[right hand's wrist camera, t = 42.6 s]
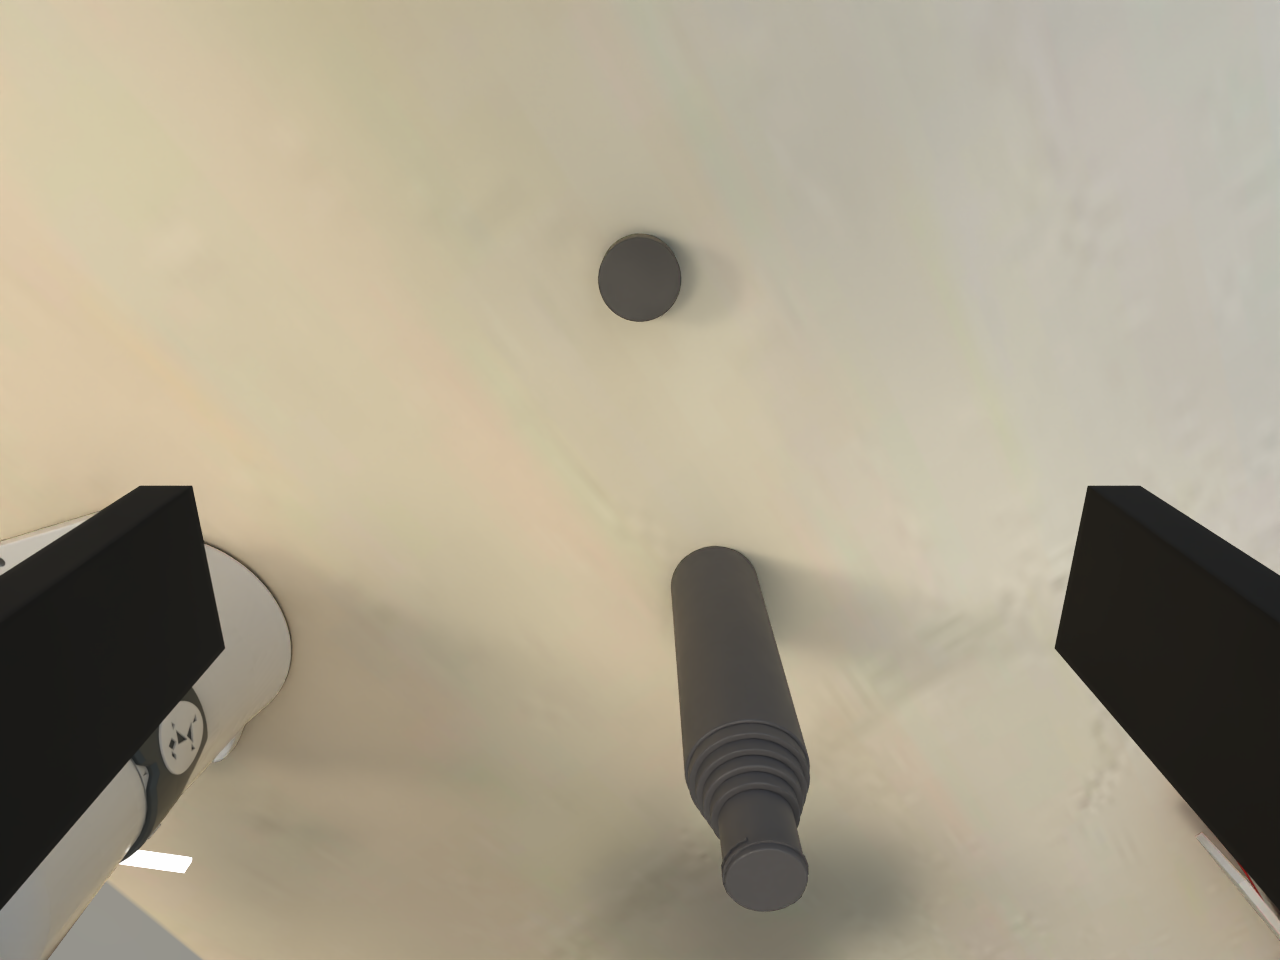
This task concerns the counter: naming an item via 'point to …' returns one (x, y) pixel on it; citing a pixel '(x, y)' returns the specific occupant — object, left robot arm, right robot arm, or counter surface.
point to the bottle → (739, 728)
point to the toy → (1245, 887)
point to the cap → (639, 278)
